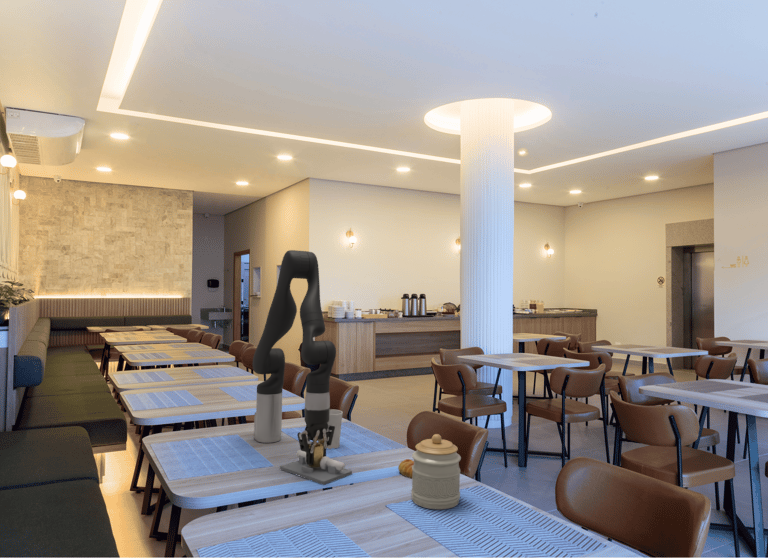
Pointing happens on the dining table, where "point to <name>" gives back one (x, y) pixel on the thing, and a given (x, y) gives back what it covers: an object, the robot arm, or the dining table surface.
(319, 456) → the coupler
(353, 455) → the dining table surface
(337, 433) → the cup
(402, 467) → the pastry
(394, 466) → the dining table surface
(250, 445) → the dining table surface
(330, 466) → the shaft rig
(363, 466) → the dining table surface
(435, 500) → the jar
